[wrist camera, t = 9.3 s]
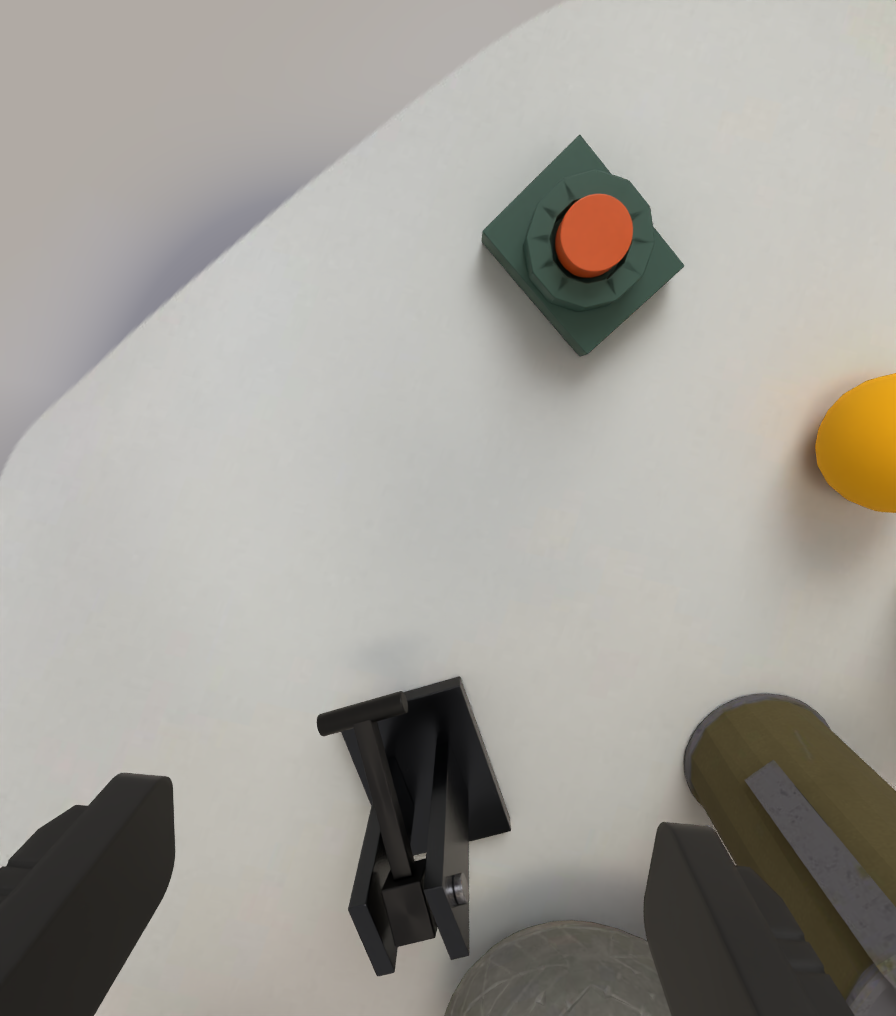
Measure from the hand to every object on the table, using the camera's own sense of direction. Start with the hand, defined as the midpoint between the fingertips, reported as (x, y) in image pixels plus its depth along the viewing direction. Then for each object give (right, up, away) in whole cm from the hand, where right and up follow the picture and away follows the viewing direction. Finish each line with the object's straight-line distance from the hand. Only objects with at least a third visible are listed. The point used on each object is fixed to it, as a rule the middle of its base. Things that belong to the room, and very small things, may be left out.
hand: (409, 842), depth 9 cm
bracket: (-1, -13, +31) cm, 34 cm away
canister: (+22, -12, +31) cm, 40 cm away
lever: (-2, -11, +22) cm, 25 cm away
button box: (+8, +20, +24) cm, 32 cm away
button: (+8, +20, +20) cm, 29 cm away
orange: (+26, +10, +26) cm, 38 cm away
